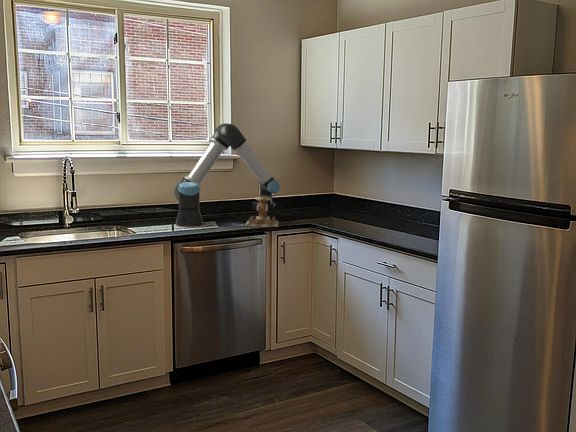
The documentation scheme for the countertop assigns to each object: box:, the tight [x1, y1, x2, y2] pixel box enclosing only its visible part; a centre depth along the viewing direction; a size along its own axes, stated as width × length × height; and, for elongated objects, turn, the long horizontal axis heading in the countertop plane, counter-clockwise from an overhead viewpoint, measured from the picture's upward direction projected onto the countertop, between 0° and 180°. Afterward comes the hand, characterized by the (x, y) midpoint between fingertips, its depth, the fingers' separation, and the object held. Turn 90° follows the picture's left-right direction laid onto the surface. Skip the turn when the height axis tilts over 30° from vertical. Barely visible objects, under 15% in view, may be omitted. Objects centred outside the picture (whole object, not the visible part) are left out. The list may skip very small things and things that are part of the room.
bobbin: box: [255, 196, 271, 220], centre depth 339 cm, size 8×8×12 cm
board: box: [245, 215, 280, 228], centre depth 340 cm, size 18×14×4 cm
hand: (262, 208), depth 333 cm, fingers closed on bobbin, 4 cm apart
